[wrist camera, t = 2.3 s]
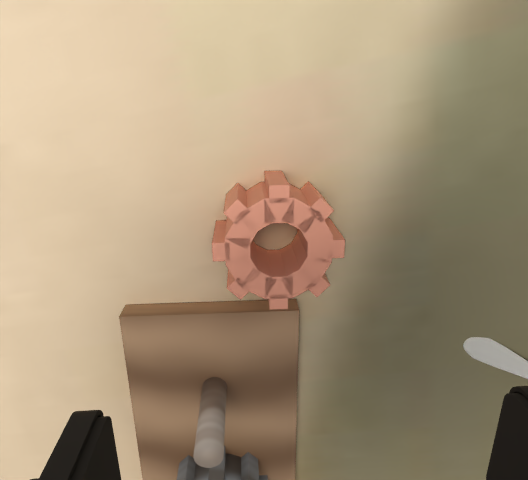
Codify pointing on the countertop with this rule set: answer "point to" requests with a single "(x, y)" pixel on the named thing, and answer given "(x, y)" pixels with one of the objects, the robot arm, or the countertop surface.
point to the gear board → (213, 352)
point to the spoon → (496, 355)
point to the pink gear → (286, 259)
